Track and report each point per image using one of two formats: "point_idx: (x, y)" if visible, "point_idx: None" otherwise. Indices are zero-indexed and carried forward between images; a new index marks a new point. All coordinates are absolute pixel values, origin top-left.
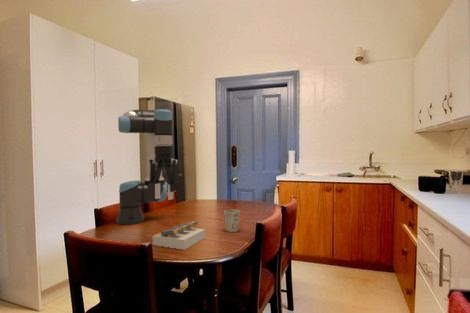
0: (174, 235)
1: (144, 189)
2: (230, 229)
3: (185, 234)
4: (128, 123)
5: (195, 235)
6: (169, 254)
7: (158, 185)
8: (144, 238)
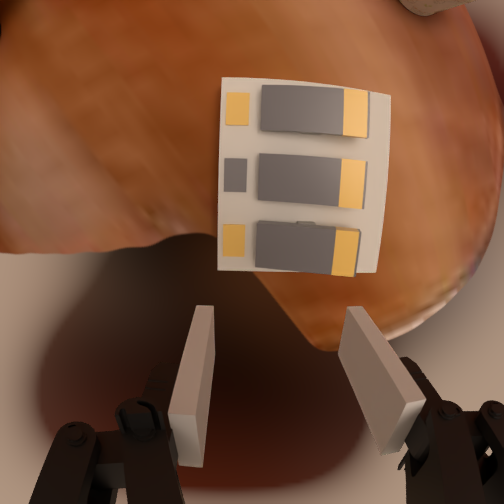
0: None
1: None
2: (425, 13)
3: None
4: None
5: (384, 184)
6: (334, 312)
7: (200, 422)
8: (128, 195)
